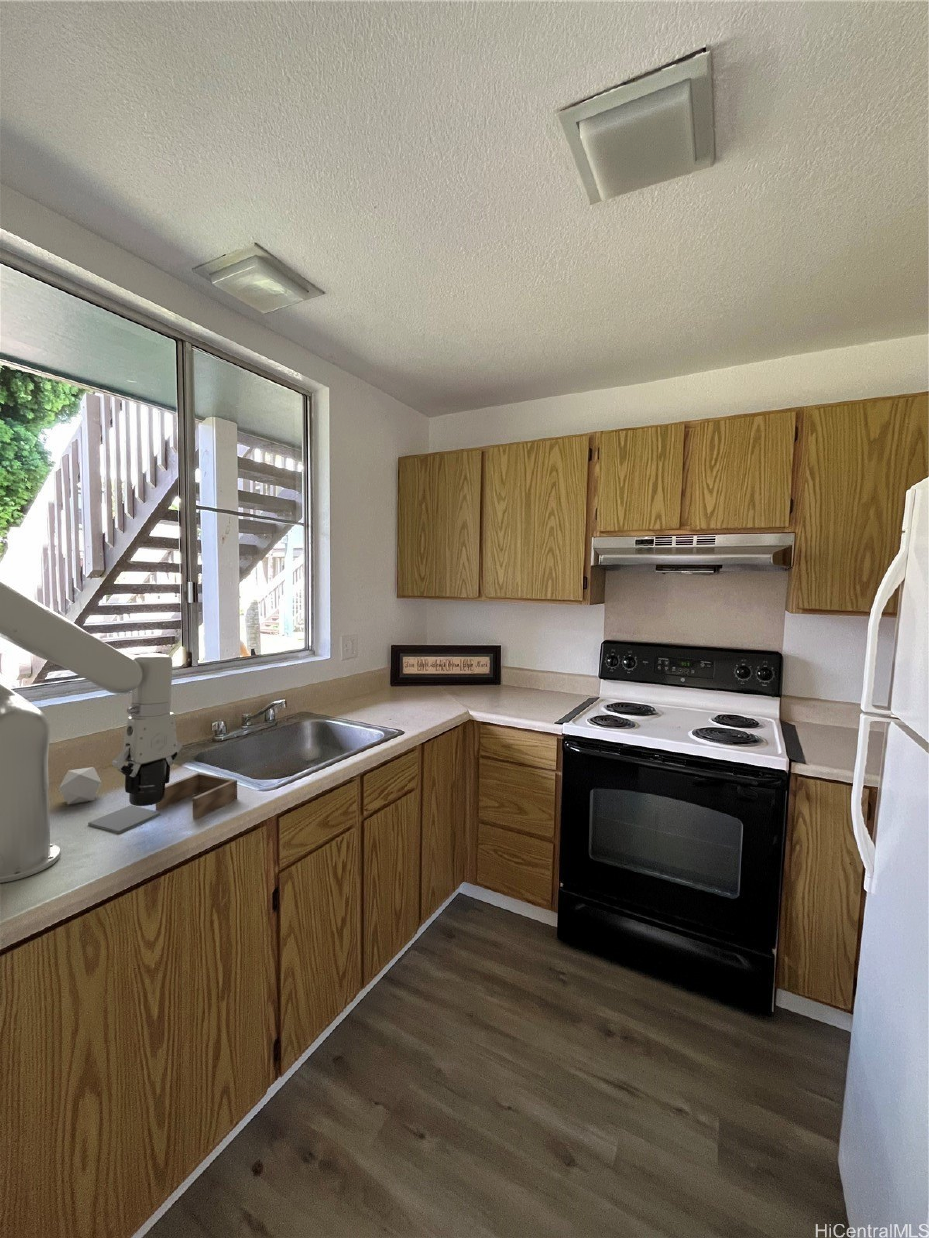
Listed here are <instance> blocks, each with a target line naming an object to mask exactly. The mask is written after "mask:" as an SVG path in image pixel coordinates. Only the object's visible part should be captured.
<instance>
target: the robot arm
mask: <svg viewBox="0 0 929 1238" xmlns="http://www.w3.org/2000/svg"><path fill="white" fill-rule="evenodd" d="M0 638H2V639H4V640H6V641H8V642H9V643H12V644H13V645H15V646H17V647H19V648H20V649H22V650H24V651H27V652H29V653H31V654H32V655H34V656H36V657H38V658H40V659H43V660H45V661H48V662H51V663H53V664H56V665H58V666H60V667H62V668H63V669H66V670H68V671H70V672H71V673H74V674H76V675H77V676H79V677H81V678H83V679H85V680H87V681H89V682H91V684H93V685H95V686H96V687H98V688H100V689H103V690H105V692H106V691H107V692H108V693H110V694H115V695H123V694H127V693H131V702H130V703H131V705H130V707H128V708H127V709H126V713H127V714H128V715H130V716H128V719H127V723H126V726H125V731H124V735H123V743H122V750H121V751H120V752H119V754H118V755H117V756H116V757H115V758H114V759H113V760H112V761H111V765H112V766H113V767H114V768H116V769H117V770H118V771H119V772H120V773H122V775H123V776H125V779H124V780H125V781H124V789H125V793H127V794H129V793H130V794H134V795H135V794H137V793H138V788H139V776H137V775H136V774H137V772H138V770H139V768H140V765H141V764H145V763H149V762H153V761H156V760H159V759H164V760H165V761H166V781H165V785H168V784H170V778H171V766H172V765H174V760H175V759H176V758H177V756H178V753H179V752H180V751H181V749H182V747H183V744H182V743H181V742H179V741H178V740H177V739H178V738H177V737H178V736H177V726H176V725H177V724H176V723H177V722H176V719H175V714H174V712H171V700H172V685H173V684H172V682H173V681H172V680H173V659H172V657H171V656H170V655H168V654H165V653H142V654H137V655H136V654H135V655H134V654H125V653H123V652H121V651H120V650H118V649H116V648H114V647H113V646H112V645H110V644H108V643H106V642H104V641H103V640H101V639H99V638H98V637H97V636H94V635H92V634H90V633H89V632H87V631H86V630H84V629H83V628H81V627H80V626H78V625H77V624H75V623H74V622H72V621H71V620H70V619H67V618H66V617H64V616H62V615H61V614H59V613H57V612H55V611H54V610H52V609H51V608H49V607H47V606H45V605H44V604H42V603H41V602H39V601H37V600H35V599H34V598H32V597H31V596H29V595H27V594H25V593H24V592H22V591H21V590H19V589H17V588H15V587H14V586H13V585H11V584H9V583H7V582H6V581H4V580H2V579H0ZM50 740H51V728H50V723H49V720H48V718H47V716H46V715H45V713H44V712H43V711H42V710H40V708H39V707H37V706H36V705H34V704H33V703H31V702H30V701H29V700H28V699H26V698H24V697H23V696H22V695H20V694H18V693H17V692H16V691H13V690H12V689H11V688H9V687H8V686H7V685H4V684H3V683H2V682H0V884H2V883H8V882H13V881H17V880H21V879H24V878H27V877H30V876H32V875H35V874H38V873H40V872H43V871H44V870H45V869H48V868H50V867H51V866H52V865H54V864H55V863H56V862H57V861H58V860H59V859H60V857H61V854H62V853H61V848H60V846H58V845H56V844H54V843H51V824H50V823H51V822H50V818H51V816H50V784H49V783H50V782H49V753H50V751H49V750H50ZM125 762H126V764H125ZM133 764H134V766H133ZM132 766H133V768H132ZM131 768H132V769H131Z"/></svg>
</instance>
